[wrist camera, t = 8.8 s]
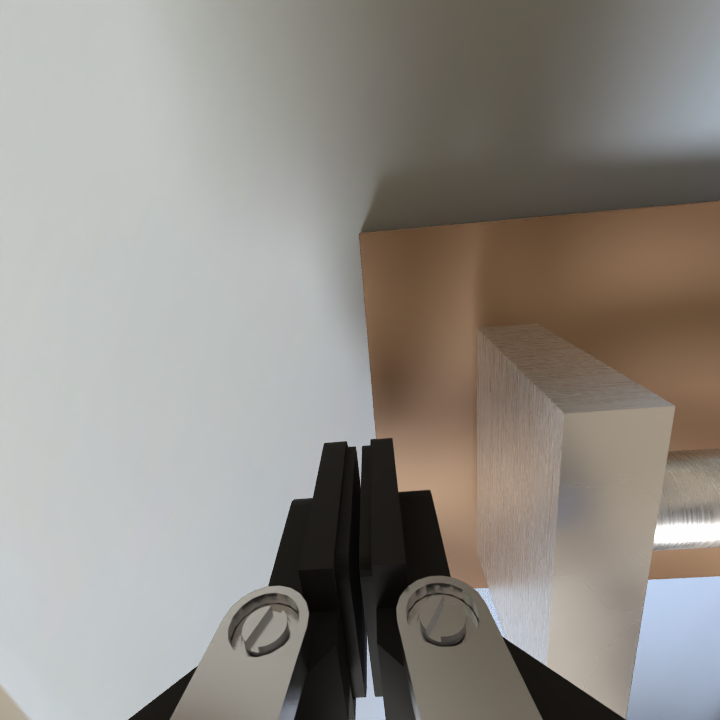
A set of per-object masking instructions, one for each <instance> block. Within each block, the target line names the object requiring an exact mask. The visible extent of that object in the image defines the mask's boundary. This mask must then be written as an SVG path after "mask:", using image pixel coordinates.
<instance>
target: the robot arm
mask: <svg viewBox="0 0 720 720" xmlns="http://www.w3.org/2000/svg"><path fill="white" fill-rule="evenodd" d="M367 637H368V645H369V653H370V661H371V669H372V677H373V685H374V693H375V697H379V696H383V699H384V708H385V716H386V720H626V719H624V718H623V717H621V716H620V715H618V714H617V713H616V712H614V711H613V710H611V709H610V708H608V707H607V706H605V705H604V704H602V703H601V702H599V701H598V700H596V699H595V698H593V697H592V696H590V695H589V694H587V693H586V692H584V691H583V690H581V689H580V688H578V687H577V686H575V685H574V684H572V683H571V682H569V681H568V680H566V679H565V678H563V677H562V676H560V675H559V674H557V673H556V672H554V671H553V670H551V669H550V668H548V667H547V666H545V665H544V664H543V663H541V662H540V661H538V660H537V659H535V658H534V657H532V656H531V655H529V654H528V653H526V652H525V651H523V650H522V649H520V648H519V647H517V646H516V645H514V644H513V643H511V642H510V641H508V640H507V639H505V638H504V637H502V635H501V633H500V631H499V629H498V627H497V625H496V623H495V621H494V619H493V617H492V615H491V613H490V611H489V609H488V607H487V605H486V603H485V601H484V600H483V599H482V597H481V596H480V594H479V593H478V592H477V591H476V590H475V589H473V588H472V587H471V586H470V585H468V584H467V583H465V582H463V581H460V580H458V579H456V578H452V577H451V575H450V571H449V567H448V562H447V558H446V554H445V549H444V545H443V541H442V536H441V532H440V528H439V523H438V519H437V515H436V510H435V506H434V502H433V497H432V494H431V491H430V490H419V491H405V492H398V484H397V475H396V465H395V456H394V447H393V438H383V439H371V445H369V446H362V471H361V486H360V477H359V469H358V460H357V452H356V447H348V445H347V441H345V442H333V443H324V446H323V451H322V456H321V461H320V466H319V471H318V476H317V481H316V486H315V491H314V495H313V498H308V499H294V500H293V501H292V503H291V506H290V510H289V513H288V517H287V520H286V524H285V528H284V531H283V535H282V539H281V542H280V546H279V549H278V553H277V557H276V560H275V564H274V567H273V571H272V575H271V578H270V582H269V585H268V586H267V587H264V588H261V589H257V590H254V591H253V592H251V593H249V594H247V595H246V596H244V597H242V598H241V599H240V600H239V601H238V602H236V603H235V604H234V605H233V606H232V607H231V608H230V610H229V611H228V612H227V614H226V615H225V617H224V618H223V620H222V622H221V624H220V625H219V627H218V629H217V631H216V633H215V635H214V637H213V639H212V641H211V642H210V644H209V646H208V648H207V650H206V652H205V654H204V656H203V658H202V660H201V661H200V663H199V665H198V666H197V667H196V668H194V669H193V670H192V671H190V672H189V673H188V674H187V675H185V676H184V677H183V678H181V679H180V680H179V681H178V682H176V683H175V684H174V685H172V686H171V687H170V688H169V689H167V690H166V691H165V692H163V693H162V694H161V695H159V696H158V697H157V698H156V699H154V700H153V701H152V702H150V703H149V704H148V705H147V706H145V707H144V708H143V709H141V710H140V711H139V712H138V713H136V714H135V715H134V716H132V717H131V718H130V719H128V720H355V710H356V698H358V697H366V689H367Z"/></svg>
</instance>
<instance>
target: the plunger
mask: <svg viewBox="0 0 720 720" xmlns="http://www.w3.org/2000/svg"><path fill="white" fill-rule="evenodd" d="M674 412H675V405H673V404H671V403H670V402H668V401H666V400H665V399H663V398H661V397H660V396H658V395H656V394H655V393H653V392H651V391H650V390H648V389H646V388H644V387H643V386H641V385H639V384H638V383H636V382H634V381H633V380H631V379H629V378H628V377H626V376H624V375H623V374H621V373H619V372H618V371H616V370H614V369H613V368H611V367H609V366H608V365H606V364H604V363H603V362H601V361H599V360H598V359H596V358H594V357H593V356H591V355H589V354H588V353H586V352H584V351H583V350H581V349H579V348H577V347H576V346H574V345H572V344H571V343H569V342H567V341H566V340H564V339H562V338H561V337H559V336H557V335H556V334H554V333H552V332H551V331H549V330H547V329H546V328H544V327H542V326H541V325H539V324H537V323H535V324H522V325H510V326H497V327H484V328H477V554H478V557H479V560H480V563H481V566H482V569H483V572H484V575H485V578H486V581H487V584H488V587H489V590H490V593H491V596H492V599H493V602H494V605H495V608H496V611H497V614H498V617H499V621H500V624H501V627H502V630H503V633H504V636H505V639H507V640H508V641H510V642H511V643H513V644H514V645H516V646H517V647H519V648H520V649H522V650H523V651H525V652H526V653H528V654H529V655H531V656H532V657H534V658H535V659H537V660H538V661H540V662H541V663H543V664H544V665H545V666H547V667H548V668H550V669H551V670H553V671H554V672H556V673H557V674H559V675H560V676H562V677H563V678H565V679H566V680H568V681H569V682H571V683H572V684H574V685H575V686H577V687H578V688H580V689H581V690H583V691H584V692H586V693H587V694H589V695H590V696H592V697H593V698H595V699H596V700H598V701H599V702H601V703H602V704H604V705H605V706H607V707H608V708H610V709H611V710H613V711H614V712H616V713H617V714H618V715H620V716H621V717H623V718H624V719H626V714H627V708H628V702H629V696H630V689H631V683H632V677H633V670H634V664H635V658H636V651H637V645H638V639H639V633H640V626H641V620H642V614H643V607H644V601H645V595H646V588H647V582H648V576H649V569H650V563H651V557H652V551H657V550H676V549H695V548H713V547H720V448H709V449H694V450H678V451H668V450H669V443H670V437H671V431H672V424H673V418H674Z"/></svg>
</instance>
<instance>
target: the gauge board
mask: <svg viewBox="0 0 720 720" xmlns="http://www.w3.org/2000/svg"><path fill="white" fill-rule="evenodd" d="M359 241H360V253H361V265H362V277H363V289H364V300H365V312H366V324H367V336H368V348H369V360H370V372H371V384H372V396H373V408H374V420H375V431H376V439H383V438H393V447H394V456H395V465H396V475H397V484H398V492H405V491H419V490H430V491H431V494H432V497H433V502H434V506H435V510H436V515H437V519H438V523H439V528H440V532H441V536H442V541H443V545H444V549H445V554H446V558H447V562H448V567H449V571H450V575H451V577H452V578H456V579H458V580H460V581H463V582H465V583H467V584H468V585H470V586H471V587H472V588H489V587H488V584H487V581H486V578H485V575H484V572H483V569H482V566H481V563H480V560H479V557H478V554H477V328H484V327H497V326H510V325H522V324H535V323H537V324H539V325H541V326H542V327H544V328H546V329H547V330H549V331H551V332H552V333H554V334H556V335H557V336H559V337H561V338H562V339H564V340H566V341H567V342H569V343H571V344H572V345H574V346H576V347H577V348H579V349H581V350H583V351H584V352H586V353H588V354H589V355H591V356H593V357H594V358H596V359H598V360H599V361H601V362H603V363H604V364H606V365H608V366H609V367H611V368H613V369H614V370H616V371H618V372H619V373H621V374H623V375H624V376H626V377H628V378H629V379H631V380H633V381H634V382H636V383H638V384H639V385H641V386H643V387H644V388H646V389H648V390H650V391H651V392H653V393H655V394H656V395H658V396H660V397H661V398H663V399H665V400H666V401H668V402H670V403H671V404H673V405H675V412H674V418H673V424H672V431H671V437H670V443H669V450H668V451H678V450H694V449H709V448H720V200H718V201H707V202H696V203H685V204H674V205H662V206H651V207H640V208H629V209H618V210H607V211H596V212H585V213H574V214H563V215H552V216H541V217H530V218H519V219H507V220H496V221H485V222H474V223H463V224H452V225H441V226H430V227H419V228H408V229H397V230H386V231H375V232H364V233H359ZM710 576H720V547H713V548H695V549H676V550H657V551H652V557H651V563H650V569H649V576H648V580H650V579H670V578H690V577H710Z"/></svg>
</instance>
